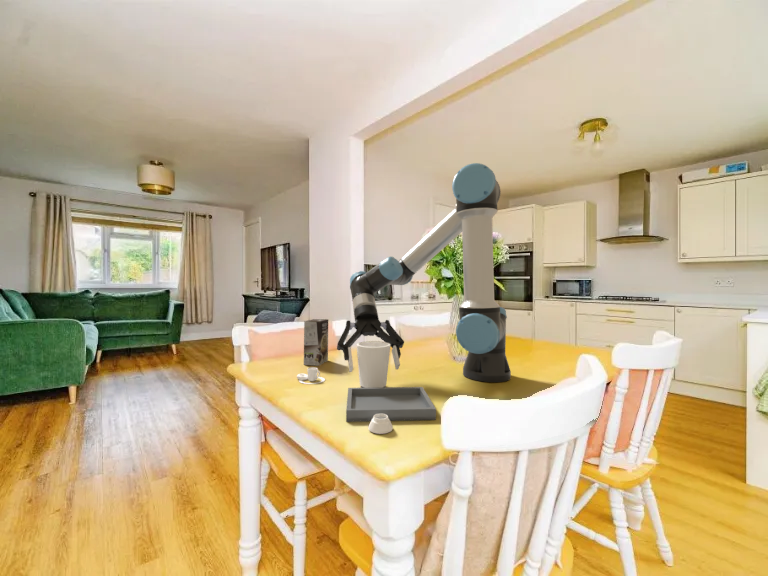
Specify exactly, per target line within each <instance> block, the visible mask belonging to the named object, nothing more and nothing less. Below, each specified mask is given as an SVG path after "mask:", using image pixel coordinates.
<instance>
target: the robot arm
mask: <svg viewBox="0 0 768 576" xmlns="http://www.w3.org/2000/svg"><path fill="white" fill-rule="evenodd" d="M451 185H452V186H451V187H452V192H453V193H452V194H453V196H454V197H455V199H456V200H455V201H456V203H455V204H454V209H453V210H451V211H450V212H449V213H448V214H447V215H446V216H444V218H443V219H441V221H439V222H438V223H437V225H435V226H434V227H433V228H432V229H431V230H430V231H428V233H427V234H426V235H424V237H422V238H421V239H420V240H419V241H418V242H417V243H416V244H415V245H414V246H412V248H411V249H410V250H408V251H407V253H405V254H404V255H403V256H402V257H401V258H400V259H399V260H398V259H397V258H395V257H394V256H387V257H386V258H385V259H383V260H381V261H380V262H379V263H378V264H375V266H374V267H372V268H371V269H369V270H367V272H366V271H364V270H360V271H358V272H356V271H355V272H354V273H352V275H351V276H350V279H349V290H350V295H351V299H352V300H351V301H352V308H353V315H354V316H353V317H354V322H351V321H350V320H346V322H345V328H344V330H343V332H342V334H341V336H340V338H339V339H338V341H337V346H336V350H338V351H342V353H343V359H344V361H347V362H348V370H349V371H348V372H349V373H352V372H353V369H354V363H353V354H352V346H353V345H354V344H355V342H356V341H357V340H358V339H359V338H361V336H363V337H369V336H370V337H374V336H375V337H377V338H380V340H381V341H382V342H387V343H389V344H391V345H390V348H392V349H391V353H392V359H393V363H394V367H395V370H399V369H400V366H401V361H400V358H401V357H402V356H401V355H402V353H401V349H402V348H403V346H404V344H405V340H403V338H402V337H401V336H400V335H399V333H398V332H397V331H396V330H395V329H394V328H393V326H392V325H391V322H390V321H389V320H388V319H386V320H385V321H380V319H379V314H378V313H379V312H378V309H377V304H376V303H377V302H376V299H375V294H376V293H378V292H379V291H381V290H382V289H384V288H386V287H387V286H388V285H390V286H391V285H392V286H396V285H397V286H405V285H407V284H409V283H410V282H412V279H413V276H414V275H415V274H416V273H417V272H419V271H420V270H421V269H422V268H423V267H424V266H425V265H426V264H427V263H429V262H430V261H431V260H432V259H433V258H434V257H435V256H436V255H438V254H439V253H440V252H441V251H442V250H444V249H445V248H446V247H447V246H448V245H449V244H451V242H453V240H455V239H456V238H457V237H458V236H459V235H460V234H461V235H462V237H461V238H462V265H463V266H462V267H463V269H462V270H463V273H462V274H463V301H462V303H461V304H460V305H459V306H458V316H459V317H458V318H459V320H458V322H457V325H456V329H455V336H456V339H457V342H458V343H459V345H460V346H461V347H462V348H463V349H464V350H465V351H467V352H468V353H467V355H466V358H465V360H464V364H463V367H462V375H463V376H464V377H466V378H467V379H470V380H474V381H478V382H486V383H502V382H508V381H510V380H511V379H512V378H511V377H512V376H511V372H512V371H511V367H510V364H509V361H508V359H507V355H506V343H507V342H506V336H507V335H506V334H507V333H506V332H507V330H506V329H507V319H508V317H507V310H506V308H504V307H502V306H500V304H498V302H497V301H496V300H495V277H494V275H495V273H494V270H495V269H494V240H493V238H494V234H493V217H495V215H496V214H498V204H499V201H500V198H501V187H500V184H499V182H498V181H497V179H496V174H495V173H494V171H493V170H492V169H491V168H490V167H488V166H487V165H486V164H483V163H480V162H474V163H469V164H466V165H465V166H463V167H461V168H460V169H459V170H458V171H457V173H456V174H455V175H454V176H453V180H452V184H451ZM353 328H354V329H355V330H356V331H355V332H354V333H353V334H352V335H351V337H349V339H348V340H347V337H348V335H349V333H350V331H351V330H352V329H353ZM346 340H347V341H346ZM345 341H346V342H345Z"/></svg>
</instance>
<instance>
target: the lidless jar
mask: <svg viewBox="0 0 768 576" xmlns="http://www.w3.org/2000/svg"><path fill="white" fill-rule="evenodd" d="M369 422H370V423H369V425H368V427H367V429H368V431H369V432H370V433H374V434H376V435H385V434H388V433H391V432H392V431H393V428H394V426H393V424H392V421H390V420H389V418H388V416H387V415H386V414H375V415H374V416H373V419H372V420H371V421H369Z"/></svg>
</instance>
